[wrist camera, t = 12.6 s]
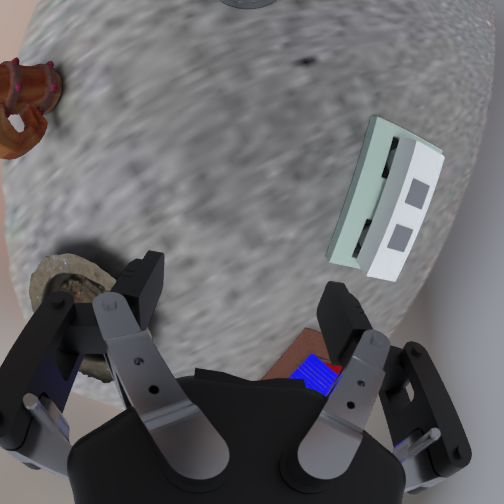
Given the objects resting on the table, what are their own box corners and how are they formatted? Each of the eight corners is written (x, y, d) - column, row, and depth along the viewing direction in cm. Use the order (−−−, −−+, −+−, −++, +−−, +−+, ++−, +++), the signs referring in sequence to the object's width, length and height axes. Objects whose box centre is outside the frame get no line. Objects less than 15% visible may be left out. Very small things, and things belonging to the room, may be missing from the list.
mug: (27, 82, 24) (-40, 85, 11) (61, 52, 23) (-7, 40, 10) (48, 156, 30) (-22, 182, 17) (84, 129, 29) (10, 144, 16)
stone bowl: (101, 361, 49) (84, 391, 41) (34, 267, 41) (6, 289, 32) (190, 338, 45) (179, 377, 36) (112, 211, 36) (78, 231, 28)
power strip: (389, 135, 31) (417, 140, 24) (415, 148, 32) (445, 157, 25) (348, 251, 39) (366, 276, 32) (375, 257, 39) (395, 282, 33)
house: (354, 341, 48) (373, 388, 37) (298, 396, 55) (305, 439, 45) (304, 324, 45) (317, 377, 35) (252, 386, 53) (253, 433, 42)
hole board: (370, 116, 30) (377, 116, 28) (434, 148, 31) (442, 150, 30) (325, 255, 39) (329, 262, 37) (389, 269, 40) (394, 276, 39)
